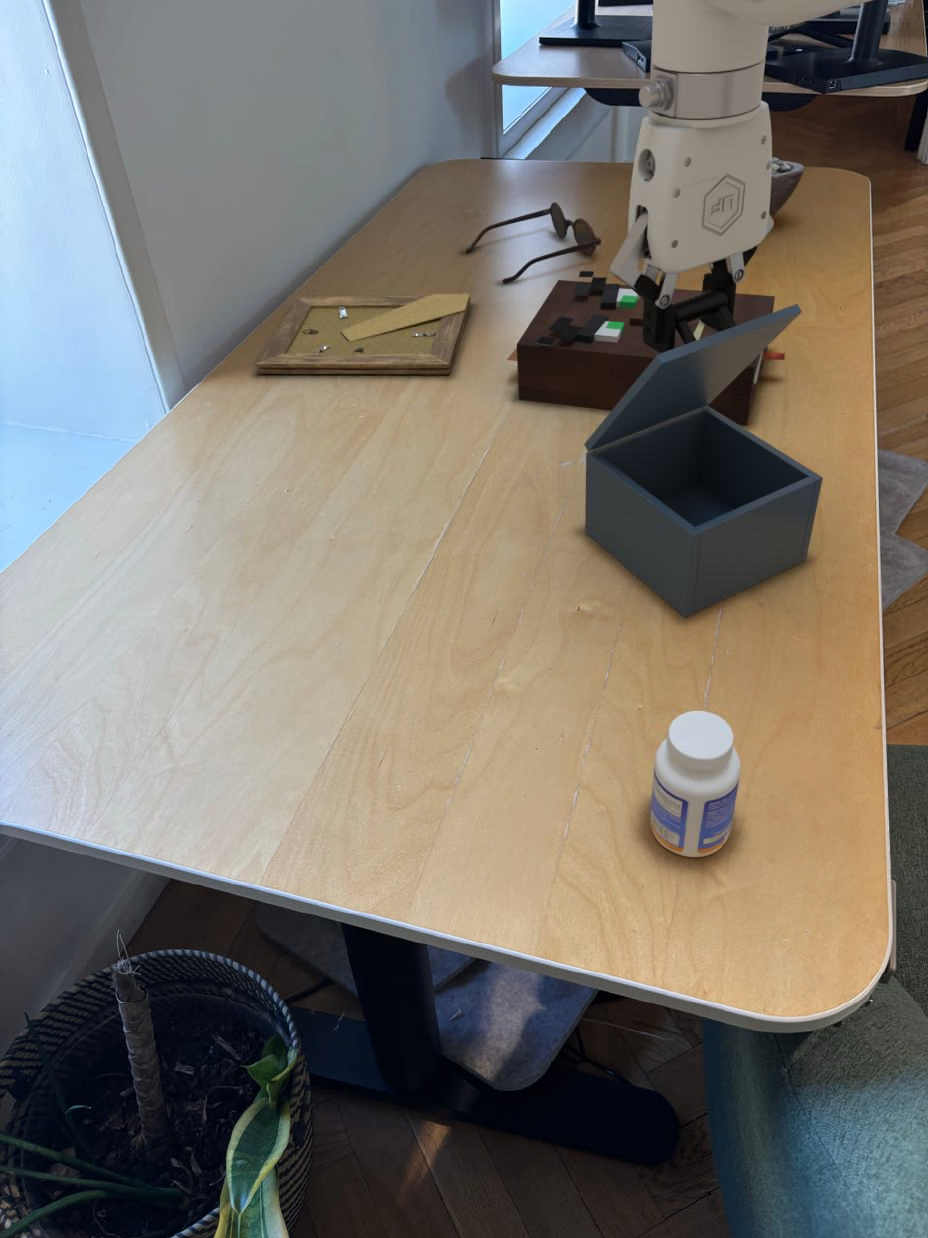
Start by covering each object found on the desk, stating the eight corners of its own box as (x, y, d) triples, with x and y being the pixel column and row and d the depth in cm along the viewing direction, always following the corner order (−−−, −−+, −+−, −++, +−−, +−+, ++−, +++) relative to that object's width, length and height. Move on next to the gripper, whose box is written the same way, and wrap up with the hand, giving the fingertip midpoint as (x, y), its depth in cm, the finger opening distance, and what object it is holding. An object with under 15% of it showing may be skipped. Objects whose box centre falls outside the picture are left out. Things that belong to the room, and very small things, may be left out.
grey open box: (806, 560, 88) (823, 477, 82) (684, 618, 83) (693, 535, 77) (698, 483, 98) (706, 404, 92) (584, 532, 93) (585, 452, 87)
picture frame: (470, 306, 131) (298, 307, 134) (470, 293, 130) (295, 294, 133) (449, 376, 117) (258, 375, 121) (448, 362, 116) (255, 361, 120)
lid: (802, 311, 77) (771, 257, 78) (662, 363, 72) (630, 305, 73) (709, 404, 91) (683, 357, 92) (587, 452, 87) (561, 403, 88)
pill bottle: (728, 798, 69) (744, 703, 63) (731, 863, 65) (750, 769, 59) (649, 792, 70) (657, 698, 64) (648, 856, 66) (657, 763, 60)
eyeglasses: (601, 261, 139) (601, 225, 135) (506, 286, 135) (504, 250, 131) (551, 228, 149) (550, 194, 145) (461, 250, 145) (459, 216, 141)
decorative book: (778, 367, 98) (491, 340, 107) (768, 433, 103) (495, 402, 112) (799, 285, 111) (542, 267, 120) (789, 348, 116) (543, 325, 125)
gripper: (638, 128, 62) (629, 388, 74) (839, 73, 68) (800, 323, 80) (570, 105, 67) (572, 352, 79) (762, 55, 73) (737, 293, 85)
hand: (687, 335), depth 79 cm, fingers closed on lid, 5 cm apart
